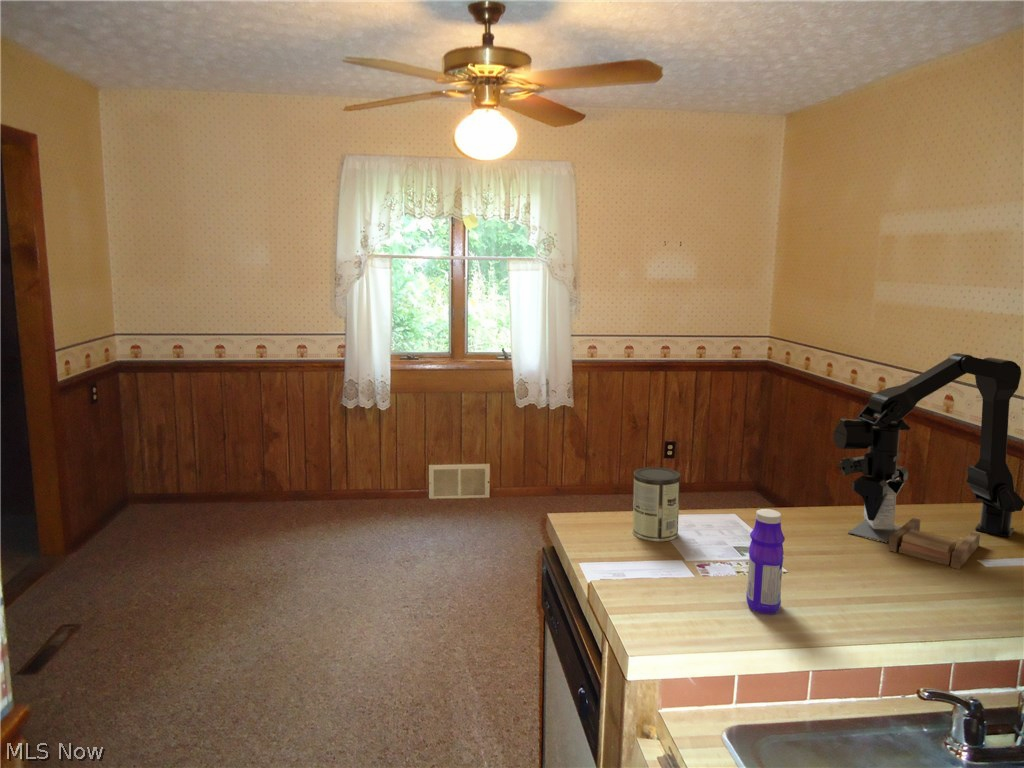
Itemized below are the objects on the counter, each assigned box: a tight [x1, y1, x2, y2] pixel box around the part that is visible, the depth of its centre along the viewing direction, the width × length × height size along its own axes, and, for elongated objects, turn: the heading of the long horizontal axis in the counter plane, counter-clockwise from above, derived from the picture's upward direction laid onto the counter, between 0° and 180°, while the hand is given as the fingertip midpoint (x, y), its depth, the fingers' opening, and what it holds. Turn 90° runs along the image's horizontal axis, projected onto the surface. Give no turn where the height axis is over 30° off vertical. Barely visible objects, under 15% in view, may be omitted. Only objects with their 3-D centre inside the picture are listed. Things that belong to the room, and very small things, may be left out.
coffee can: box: [632, 466, 682, 543], centre depth 153 cm, size 10×10×14 cm
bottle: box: [745, 508, 786, 615], centre depth 119 cm, size 7×6×17 cm
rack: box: [887, 517, 981, 570], centre depth 146 cm, size 17×13×3 cm
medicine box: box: [863, 486, 897, 530], centre depth 155 cm, size 8×4×9 cm, turn 167°
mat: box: [847, 519, 902, 544], centre depth 156 cm, size 12×8×1 cm, turn 135°
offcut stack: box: [898, 530, 957, 566], centre depth 142 cm, size 6×9×4 cm
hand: (877, 515), depth 155 cm, fingers closed on medicine box, 9 cm apart
